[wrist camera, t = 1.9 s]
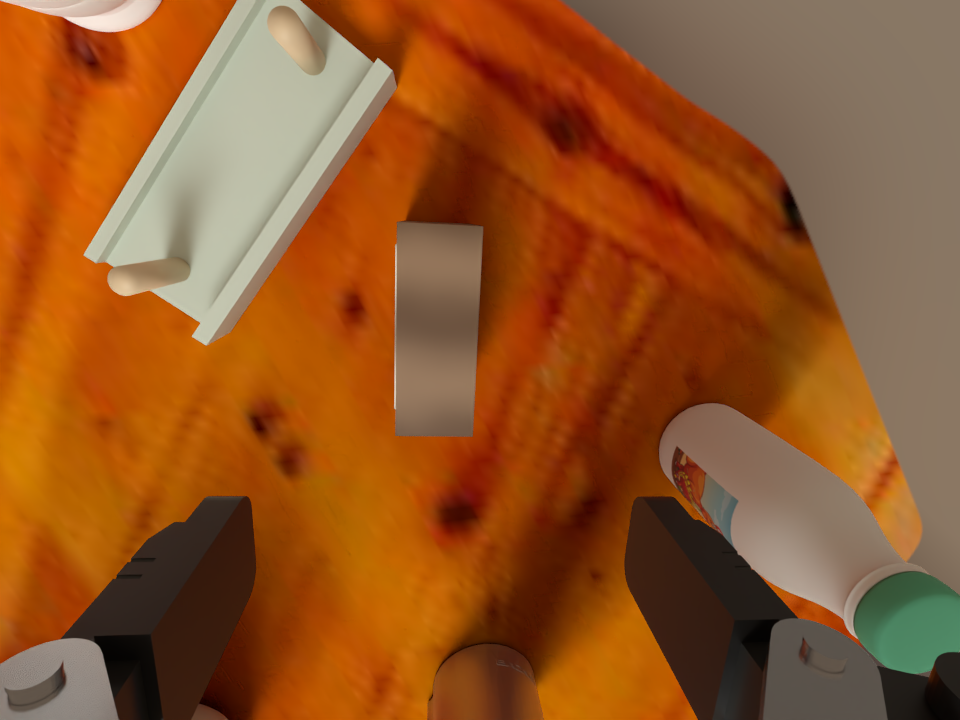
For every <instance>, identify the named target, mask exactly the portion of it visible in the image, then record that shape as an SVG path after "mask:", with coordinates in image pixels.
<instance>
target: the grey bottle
mask: <svg viewBox="0 0 960 720" xmlns="http://www.w3.org/2000/svg"><path fill="white" fill-rule="evenodd" d="M191 720H228V719H227V718H226V717H225V716H224V715H223V714H221V713H220V712H219V711H217V710H215V709H213V708H210V707H208V706H205V705H202V704H198V707H197V709H196V711H195V713H194V715H193V717H192V719H191Z"/></svg>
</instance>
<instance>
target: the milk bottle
mask: <svg viewBox="0 0 960 720" xmlns="http://www.w3.org/2000/svg"><path fill="white" fill-rule="evenodd" d="M659 460H660V464H661V467H662V470H663V472H664V473H665V475H666V476H667V477H668V478H669V480H670V481H671V482H672V483H673V485H674V486H675V487H676V488H677V489H678V490H679V491H680V492H681V494H682V495H683V496H684V497H685V498H686V499H687V500H688V501H689V502H690V504H691V505H692V506H693V507H694V508H695V509H696V510H697V511H698V512H699V513H700V515H701V516H702V517H703V518H704V519H705V520H706V521H707V522H708V523H709V524H710V526H711V527H712V528H713V529H714V530H716V531H717V532H719V533H720V534H722V535H723V536H724V537H725V538H726V540H727V541H728V542H729V543H730V544H731V545H732V546H733V547H734V548H735V549H736V550H737V553H738V555H741V556H742V557H743V558H744V559H745V560H746V561H747V563H748V564H749V565H750V566H751V568H752V569H754V570H755V571H756V572H757V573H758V574H760V575H761V576H762V577H764V578H765V579H766V580H768V581H769V582H771V583H772V584H774V585H776V586H778V587H780V588H781V589H783V590H785V591H788V592H790V593H792V594H795V595H797V596H800V597H802V598H805V599H807V600H810V601H813V602H815V603H817V604H819V605H821V606H823V607H825V608H827V609H829V610H830V611H832V612H834V613H835V614H837V615H839V616H840V617H841V618H843V619H844V622H845V625H846V627H847V629H848V631H849V632H850V633H851V634H852V635H853V636H854V637H856V638H858V639H859V641H860V642H861V644H862V645H863V646H864V647H865V648H866V649H867V650H868V651H869V652H870V653H871V654H872V655H873V656H874V657H875V658H876V659H877V660H878V661H880V662H881V663H882V664H883V665H885V666H886V667H888V668H889V669H893V670H898V671H902V672H906V673H911V674H916V673H923V672H926V671H930V670H932V668H933V665H934V662H935V660H936V658H937V657H938V656H939V655H941V654H943V653H946V652H959V651H960V595H958V594H957V593H956V592H955V591H954V590H952V589H951V588H950V587H948V586H947V585H946V584H944V583H943V582H941V581H939V580H938V579H937V578H935V577H933V576H931V575H929V574H928V572H927V571H926V570H924V569H923V568H921V567H920V566H917V565H915V564H911V563H906V562H905V561H904V560H903V559H902V558H901V557H900V556H899V555H898V553H897V552H896V551H895V550H894V549H893V547H892V546H891V545H890V543H889V542H888V540H887V539H886V537H885V535H884V534H883V532H882V530H881V528H880V526H879V524H878V523H877V521H876V519H875V517H874V516H873V514H872V512H871V511H870V509H869V508H868V506H867V505H866V504H865V502H864V501H863V500H862V499H861V498H860V497H859V496H858V494H857V493H856V492H855V491H854V490H853V489H852V488H851V487H849V486H848V485H847V484H846V483H845V482H844V481H842V480H841V479H840V478H839V477H837V476H836V475H835V474H833V473H832V472H830V471H829V470H828V469H826V468H825V467H823V466H822V465H821V464H819V463H818V462H816V461H815V460H813V459H812V458H810V457H808V456H807V455H805V454H804V453H802V452H801V451H799V450H798V449H796V448H795V447H793V446H792V445H790V444H789V443H787V442H786V441H784V440H782V439H781V438H779V437H778V436H776V435H775V434H773V433H771V432H770V431H768V430H767V429H765V428H764V427H762V426H761V425H759V424H757V423H756V422H754V421H753V420H751V419H750V418H748V417H746V416H745V415H743V414H742V413H740V412H738V411H736V410H735V409H733V408H731V407H729V406H726V405H723V404H717V403H706V404H700V405H695V406H693V407H690V408H688V409H686V410H684V411H683V412H681V413H679V414H678V415H677V416H676V417H675V418H674V419H673V420H672V421H671V422H670V423H669V424H668V426H667V427H666V429H665V431H664V432H663V435H662V438H661V440H660V446H659Z"/></svg>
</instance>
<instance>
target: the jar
mask: <svg viewBox="0 0 960 720" xmlns="http://www.w3.org/2000/svg"><path fill="white" fill-rule="evenodd" d="M0 1H3V2H7V3H12V4H16V5H19V6H22V7H25V8H28V9H31V10H34V11H38V12H42V13H46V14H50V15H56V16H62V17H64V18H66V19H67V20H69V21H71V22H73V23H75V24H77V25H79V26H82V27H84V28H87V29H91V30H95V31H101V32H118V31H124V30H127V29H130V28H133V27H135V26H137V25H139V24H141V23H142V22H144V21H145V20H146V19H148V18H149V17H150V16H151V15H152V14H153V13H154V11H155V10H156V9H157V8H158V6H159V4H160V3H161V1H162V0H0Z"/></svg>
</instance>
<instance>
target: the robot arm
mask: <svg viewBox="0 0 960 720" xmlns="http://www.w3.org/2000/svg"><path fill="white" fill-rule="evenodd" d="M255 572H256V558H255V545H254V532H253V519H252V507H251V502H250V499H249V498H248V497H247V496H208V497H206V498H205V499H204V500H203V501H202V502H201V503H200V504H199V506H198V507H197V508H196V509H195V511H194V512H193V513H192V514H191V516H190V517H189V518H188V519H187V521H186V522H174V523H173V524H171V525H169V526H168V527H166V528H165V529H163V530H162V531H160V532H158V533H157V534H155V535H154V536H152V537H151V538H149V539H148V540H147V541H146V542H145V543H144V544H143V546H142V547H141V548H140V549H139V550H138V551H137V552H136V554H135V555H134V556H133V557H132V558H131V562H128V563H127V564H126V565H125V566H124V567H123V568H122V570H121V571H120V572H119V573H118V574H117V578H116V579H113V580H112V581H111V582H110V583H109V584H108V586H107V587H106V588H105V589H104V590H103V591H102V592H101V594H100V595H99V596H98V597H97V598H96V599H95V600H94V601H93V603H92V604H91V605H90V606H89V607H88V608H87V609H86V611H85V612H84V613H83V614H82V615H81V616H80V617H79V619H78V620H77V621H76V622H75V623H74V624H73V625H72V627H71V628H70V629H69V630H68V631H67V632H66V633H65V635H64V636H63V637H62V638H61V639H60V640H55V641H51V642H47V643H44V644H41V645H38V646H35V647H32V648H30V649H28V650H26V651H23V652H21V653H19V654H17V655H15V656H13V657H11V658H10V659H8V660H6V661H5V662H3V663H2V664H0V720H191V719H192V717H193V715H194V713H195V711H196V709H197V707H198V704H199V702H200V700H201V698H202V696H203V694H204V692H205V690H206V688H207V686H208V683H209V681H210V679H211V677H212V675H213V673H214V671H215V669H216V667H217V665H218V663H219V660H220V658H221V656H222V654H223V652H224V650H225V648H226V646H227V644H228V642H229V640H230V637H231V635H232V633H233V631H234V629H235V627H236V625H237V623H238V621H239V619H240V616H241V614H242V612H243V610H244V608H245V606H246V604H247V602H248V600H249V598H250V595H251V592H252V589H253V585H254V580H255ZM625 575H626V580H627V584H628V587H629V589H630V592H631V594H632V595H633V597H634V599H635V601H636V603H637V605H638V607H639V609H640V611H641V612H642V614H643V616H644V618H645V620H646V622H647V624H648V626H649V628H650V629H651V631H652V633H653V635H654V637H655V639H656V641H657V643H658V645H659V646H660V648H661V650H662V652H663V654H664V656H665V658H666V660H667V662H668V663H669V665H670V667H671V669H672V671H673V673H674V675H675V677H676V679H677V680H678V682H679V684H680V686H681V688H682V690H683V692H684V694H685V696H686V697H687V699H688V701H689V703H690V705H691V707H692V709H693V711H694V713H695V715H696V716H697V718H698V720H960V652H946V653H943V654H941V655H939V656H938V657H937V658H936V660H935V662H934V665H933V668H932V671H931V674H930V676H929V677H924V676H920V675H915V674H911V673H906V672H902V671H898V670H893V669H889V668H884V667H880V666H876V664H875V662H874V661H873V660H872V658H871V657H870V656H869V655H868V654H867V653H866V652H865V651H864V650H863V649H862V648H861V647H860V646H859V645H858V644H856V643H855V642H854V641H852V640H851V639H850V638H848V637H846V636H845V635H843V634H842V633H840V632H838V631H836V630H834V629H832V628H830V627H828V626H825V625H823V624H820V623H817V622H814V621H810V620H805V619H798V617H797V616H796V615H795V614H794V613H793V612H792V611H791V610H790V609H789V608H788V606H787V605H786V604H785V603H784V602H783V601H782V600H781V599H780V598H779V597H778V596H777V594H776V593H775V592H774V591H773V590H772V589H771V588H770V587H769V586H768V585H767V583H766V582H765V581H764V580H763V579H762V578H761V577H760V576H759V575H758V574H757V572H756V571H755V570H751V566H750V565H749V564H748V563H747V561H746V560H745V559H744V558H743V557H742V556H741V555H738V553H737V550H736V549H735V548H734V547H733V546H732V545H731V544H730V543H729V542H728V541H727V540H726V538H725V537H724V536H723V535H722V534H720V533H719V532H717V531H716V530H714V529H713V528H711V527H709V526H708V525H706V524H705V523H703V522H702V521H700V520H694V519H693V518H692V517H691V516H690V515H689V514H688V512H687V511H686V510H685V509H684V508H683V507H682V505H681V504H680V503H679V502H678V501H677V500H676V499H675V498H674V497H637V498H636V499H635V501H634V503H633V507H632V513H631V520H630V526H629V533H628V540H627V547H626V553H625ZM427 720H544V718H543V713H542V709H541V704H540V700H539V696H538V691H537V687H536V682H535V678H534V673H533V670H532V667H531V665H530V663H529V662H528V661H527V659H526V658H525V657H524V656H523V655H522V654H520V653H519V652H517V651H516V650H514V649H512V648H509V647H507V646H503V645H498V644H481V645H474V646H471V647H468V648H465V649H463V650H461V651H459V652H457V653H455V654H454V655H452V656H451V657H450V658H448V659H447V660H446V661H445V662H444V664H443V665H442V666H441V667H440V669H439V670H438V672H437V674H436V676H435V680H434V684H433V697H432V699H431V700H430V701H429V702H428V716H427Z"/></svg>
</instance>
